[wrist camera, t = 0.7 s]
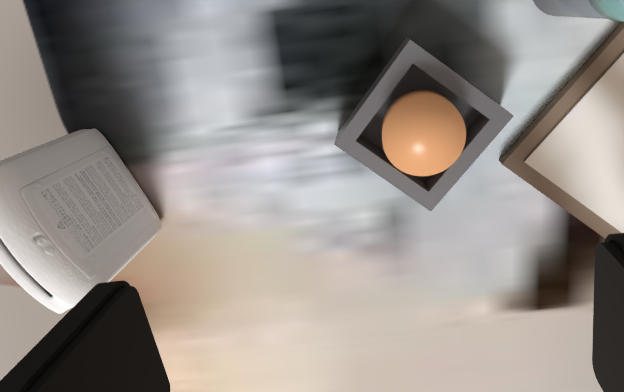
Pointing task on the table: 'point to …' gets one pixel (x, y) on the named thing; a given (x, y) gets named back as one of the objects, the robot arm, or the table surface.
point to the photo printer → (70, 217)
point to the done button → (423, 133)
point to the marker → (583, 8)
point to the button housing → (407, 77)
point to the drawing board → (581, 142)
